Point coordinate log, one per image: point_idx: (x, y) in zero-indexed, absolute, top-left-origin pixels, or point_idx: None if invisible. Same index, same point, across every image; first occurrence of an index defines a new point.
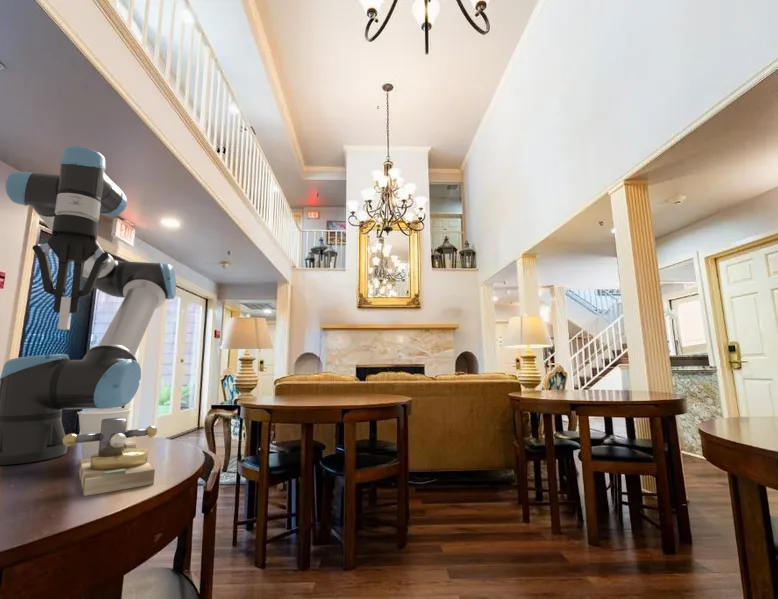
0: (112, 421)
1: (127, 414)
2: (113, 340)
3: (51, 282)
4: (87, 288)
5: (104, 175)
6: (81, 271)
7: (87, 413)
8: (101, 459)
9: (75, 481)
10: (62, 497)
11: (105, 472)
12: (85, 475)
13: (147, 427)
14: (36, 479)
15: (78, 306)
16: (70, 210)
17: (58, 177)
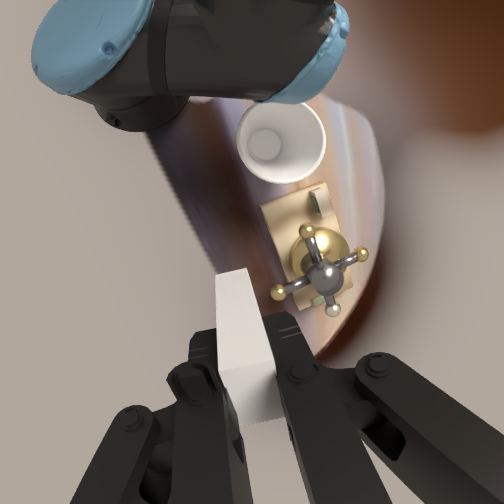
0: (329, 295)
1: (320, 148)
2: None
3: (133, 485)
4: (386, 434)
5: None
6: None
7: (265, 179)
8: (308, 285)
9: (269, 246)
10: (277, 302)
11: (314, 303)
12: (294, 294)
13: (359, 258)
14: (220, 223)
15: (302, 337)
16: None
17: None
